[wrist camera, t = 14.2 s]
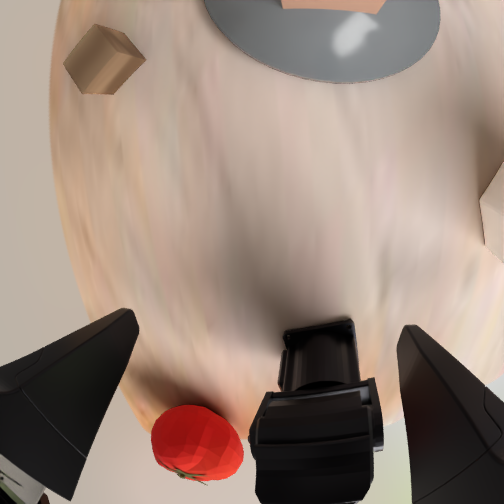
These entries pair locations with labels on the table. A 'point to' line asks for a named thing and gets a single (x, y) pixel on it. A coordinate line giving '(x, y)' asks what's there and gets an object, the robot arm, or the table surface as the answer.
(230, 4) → the plate
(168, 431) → the tomato
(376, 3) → the tan rectangular block
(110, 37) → the block
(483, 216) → the jar
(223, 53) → the table surface
